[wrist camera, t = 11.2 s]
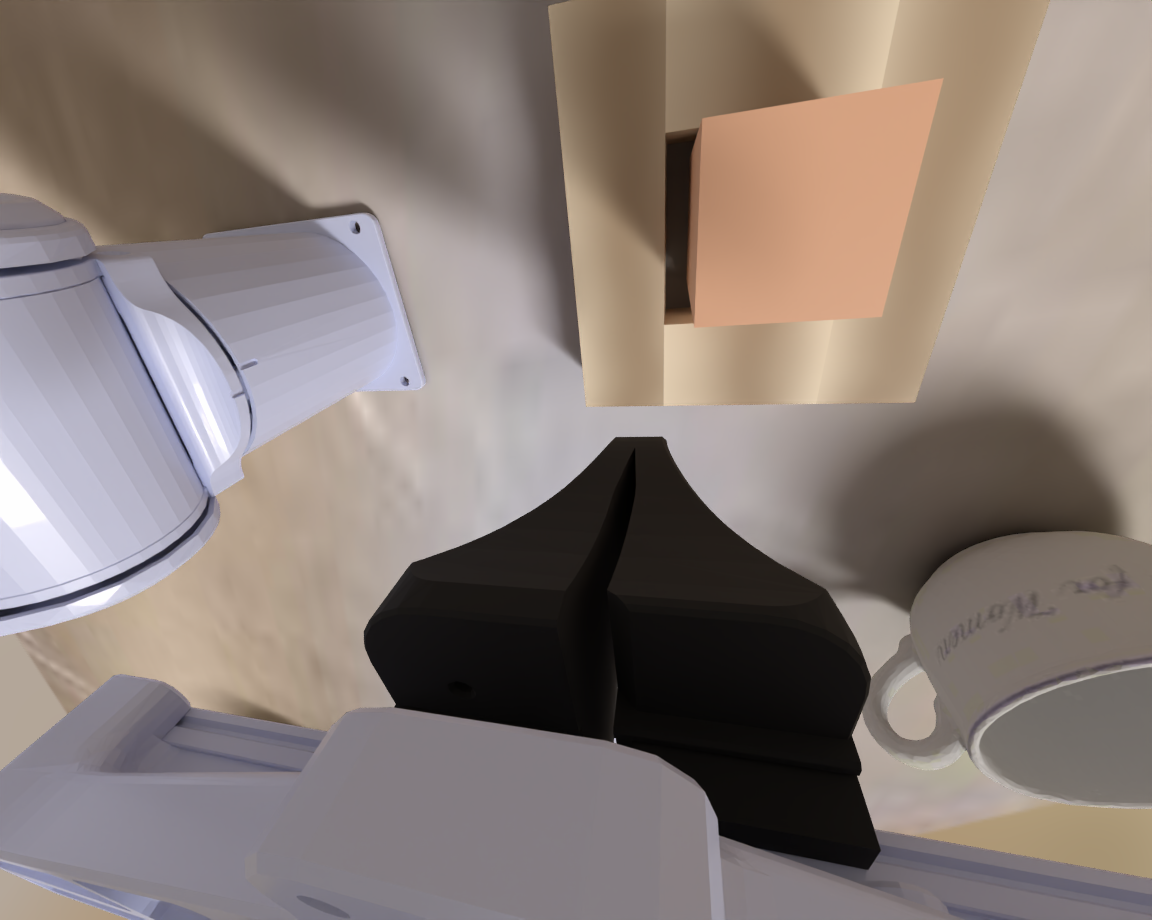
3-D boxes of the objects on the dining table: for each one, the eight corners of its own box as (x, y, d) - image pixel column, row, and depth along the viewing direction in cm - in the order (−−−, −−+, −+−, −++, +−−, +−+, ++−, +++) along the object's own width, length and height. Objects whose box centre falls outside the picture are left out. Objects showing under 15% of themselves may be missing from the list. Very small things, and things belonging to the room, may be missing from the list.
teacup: (1166, 467, 17) (1484, 635, 10) (1148, 634, 21) (1368, 833, 14) (800, 544, 23) (853, 687, 16) (843, 665, 27) (900, 819, 20)
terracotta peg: (686, 279, 17) (694, 327, 10) (689, 158, 15) (702, 118, 8) (794, 270, 16) (881, 317, 9) (813, 140, 14) (943, 78, 7)
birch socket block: (597, 381, 20) (586, 406, 17) (570, 41, 14) (548, 5, 11) (879, 374, 17) (914, 402, 15) (998, -51, 11) (1091, -124, 9)
